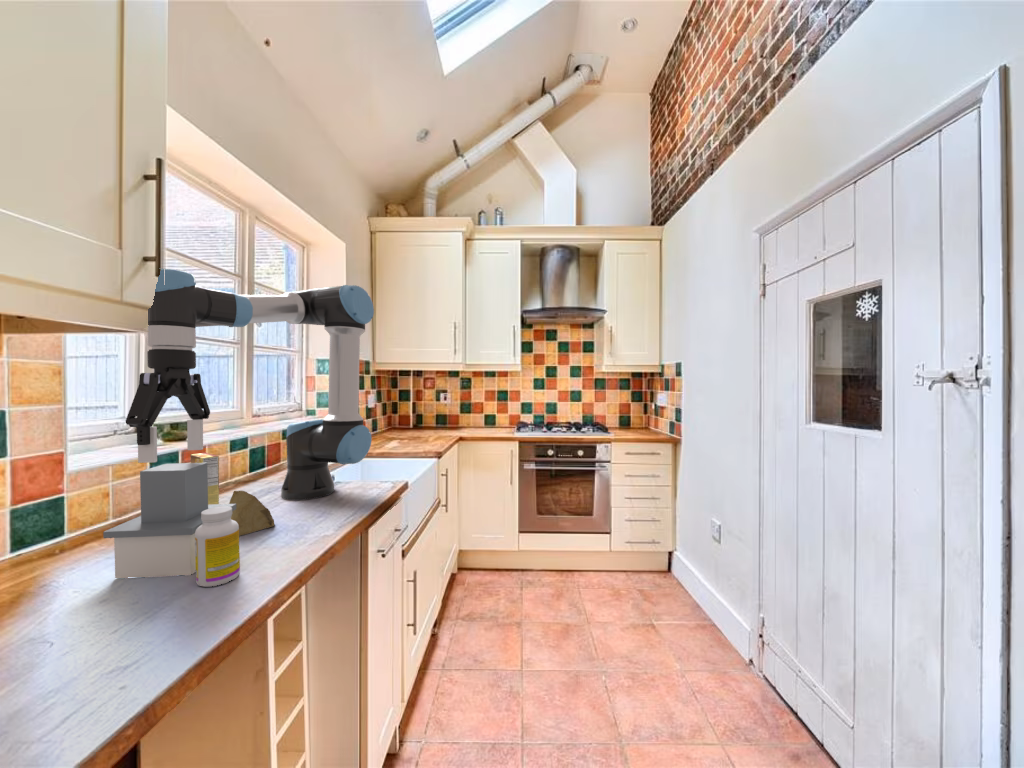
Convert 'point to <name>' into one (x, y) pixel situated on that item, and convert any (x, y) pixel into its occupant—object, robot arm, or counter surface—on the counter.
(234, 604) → the counter surface
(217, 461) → the candy box
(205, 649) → the counter surface
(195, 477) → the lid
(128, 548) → the storage box
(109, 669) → the counter surface
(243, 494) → the rock
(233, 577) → the supplement bottle
